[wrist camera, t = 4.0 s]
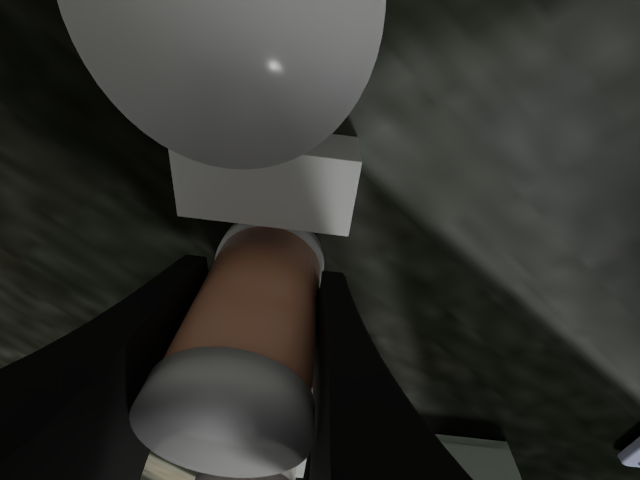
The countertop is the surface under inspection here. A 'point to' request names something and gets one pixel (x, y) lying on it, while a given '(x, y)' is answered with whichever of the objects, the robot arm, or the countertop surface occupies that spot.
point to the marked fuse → (241, 361)
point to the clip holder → (275, 192)
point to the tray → (482, 457)
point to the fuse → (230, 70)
